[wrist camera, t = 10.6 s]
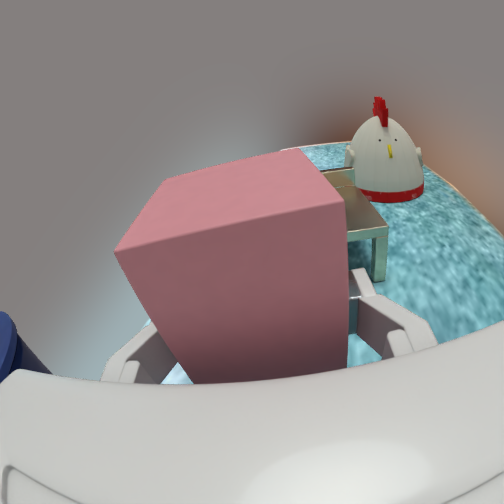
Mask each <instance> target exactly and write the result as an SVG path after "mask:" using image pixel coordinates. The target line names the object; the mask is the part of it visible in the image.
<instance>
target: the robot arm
mask: <svg viewBox="0 0 504 504" xmlns="http://www.w3.org/2000/svg"><path fill="white" fill-rule="evenodd" d="M348 272H349V328H348V335H349V334H355V333H357V335H358V336H359V337H360V338H361V339H363V340H364V341H365V342H366V343H367V344H368V345H369V346H370V347H371V348H373V349H374V350H375V351H376V352H377V353H378V354H379V355H380V356H382V360H381V361H377V362H373V363H368V364H363V365H359V366H354V367H349V368H344V369H339V370H333V371H327V372H321V373H315V374H309V375H302V376H295V377H287V378H279V379H270V380H260V381H248V382H235V383H217V384H161V382H162V381H163V380H164V379H165V377H166V376H167V375H168V374H169V372H170V371H171V370H172V368H173V367H174V366H175V365H176V363H177V362H178V361H177V359H176V358H175V356H174V355H173V353H172V352H171V350H170V349H169V347H168V346H167V344H166V343H165V341H164V340H163V338H162V337H161V335H160V333H159V332H158V330H157V329H156V327H155V325H154V324H153V322H152V321H151V322H150V325H149V326H145V327H144V328H143V329H142V330H141V331H140V332H138V333H137V334H136V335H135V336H134V337H133V338H132V339H131V340H129V341H128V342H127V343H126V344H125V345H124V346H123V347H122V348H120V349H119V350H118V351H117V352H116V353H115V354H113V355H112V356H111V357H110V358H109V359H108V361H107V363H106V366H105V368H104V371H103V373H102V376H101V378H100V381H96V380H87V379H78V378H70V377H63V376H57V375H51V374H45V373H39V372H34V371H29V370H24V369H17V370H15V371H14V372H12V373H11V374H10V375H9V376H8V377H7V378H5V379H4V380H3V381H2V382H1V383H0V504H504V320H503V321H500V322H498V323H495V324H493V325H491V326H488V327H486V328H483V329H481V330H478V331H476V332H473V333H470V334H468V335H465V336H462V337H459V338H456V339H454V340H451V341H448V342H445V343H442V344H438V342H437V340H436V338H435V336H434V334H433V332H432V330H431V328H430V326H429V324H428V322H427V321H426V320H424V319H423V318H421V317H419V316H418V315H416V314H414V313H412V312H411V311H409V310H407V309H406V308H404V307H402V306H401V305H399V304H397V303H395V302H394V301H392V300H390V299H389V298H387V297H385V296H383V295H382V294H378V295H377V293H376V291H375V289H374V287H373V285H372V283H371V280H370V278H369V276H368V274H367V272H366V270H365V268H358V269H353V270H351V271H348Z"/></svg>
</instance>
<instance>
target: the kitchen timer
mask: <svg viewBox="0 0 504 504" xmlns="http://www.w3.org/2000/svg"><path fill="white" fill-rule="evenodd" d="M374 99H375V103H373V104H374V108H373V114H374V117H373V118H371V119H369V120H367V121H366V122H365V123H364V124H363V125H362V126H361V127H360V128H359V129H358V131H357V132H356V134H355V135H354V137H353V139H352V142H351V144H350V145H347V146H346V151H345V162H344V167H351V166H352V167H353V168H354V169H355V183H356V184H355V185H356V186H357V187H358V189H359V190H360V191H361V192H362V193H363V194H364V196H365V197H366V198H367V199H368V200H369V201H373V202H384V203H393V202H403V201H409V200H412V199H415V198H417V197H419V196H420V195H421V194H422V193H423V189H424V175H423V169H422V166H423V162H422V156H421V150H420V147H418V148H416V147H415V145H414V144H413V141H412V140H411V138H410V137H409V135H408V134H407V133H406V131H405V130H404V129H403V128H402V127H401V126H400V125H399V124H398V123H397V122H395V121H394V120H392V119H390V118H388V109H386V106H385V100H382V98H380V97H374ZM350 186H354V185H350ZM345 187H347V186H345Z"/></svg>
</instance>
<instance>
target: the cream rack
mask: <svg viewBox="0 0 504 504" xmlns="http://www.w3.org/2000/svg"><path fill="white" fill-rule="evenodd" d="M320 172H321V173H322V174H323V175H324V177H325V178H326V179H327V180H328V181H329V182H330V184H331V185H332V186H333V187H334V188H335V189H336V191H337V192H338V193H339V194H340V195H341V197H342V198H343V199H344V201H345V212H346V226H347V242H352V241H358V240H364V239H370V238H372V257H371V277H372V279H373V281H374V282H378V281H383V280H385V275H386V263H387V249H388V230H389V226H388V224H387V223H386V222H385V220H384V219H383V218H382V217H381V215H380V214H379V213H378V212H377V210H376V209H375V208H374V207H373V205H372V204H371V203H370V202H369V201H368V199H367V198H366V197H365V196H364V194H363V193H362V192H361V191H360V190H359V189H358V187H357V186H356V185H355V184H356V183H355V169H354V168H353V167H352V166H351V167H343V168H335V169H328V170H321V171H320ZM350 185H354V186H350ZM343 186H347V187H343ZM336 187H340V188H336Z"/></svg>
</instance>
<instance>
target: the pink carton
mask: <svg viewBox="0 0 504 504" xmlns="http://www.w3.org/2000/svg"><path fill="white" fill-rule="evenodd" d="M114 254H115V256H116V258H117V260H118V262H119V264H120V265H121V268H122V270H123V271H124V273H125V275H126V277H127V279H128V281H129V283H130V284H131V286H132V288H133V290H134V291H135V293H136V295H137V297H138V299H139V300H140V302H141V304H142V305H143V307H144V309H145V310H146V312H147V314H148V315H149V317H150V319H151V321H152V322H153V324H154V325H155V327H156V329H157V330H158V332H159V333H160V335H161V337H162V338H163V340H164V341H165V343H166V344H167V346H168V347H169V349H170V350H171V352H172V353H173V355H174V356H175V358H176V359H177V361H178V362H179V364H180V365H181V367H182V368H183V369H184V371H185V372H186V374H187V375H188V376H189V378H190V379H191V381H192V382H193V383H194V384H217V383H235V382H248V381H260V380H270V379H279V378H287V377H295V376H302V375H309V374H315V373H321V372H327V371H333V370H339V369H344V368H347V356H348V328H349V272H348V244H347V226H346V212H345V201H344V199H343V198H342V197H341V195H340V194H339V193H338V192H337V191H336V189H335V188H334V187H333V186H332V185H331V184H330V182H329V181H328V180H327V179H326V178H325V177H324V175H323V174H322V173H321V172H320V171H319V170H318V169H317V167H316V166H315V165H314V164H313V163H312V162H311V161H310V160H309V159H308V157H307V156H306V155H305V154H304V153H303V152H302V151H301V150H300V149H299V148H294V149H288V150H283V151H278V152H273V153H268V154H264V155H258V156H254V157H249V158H245V159H241V160H236V161H232V162H228V163H224V164H219V165H216V166H212V167H208V168H204V169H200V170H196V171H193V172H189V173H185V174H182V175H178V176H175V177H171V178H168V179H165V180H164V181H163V183H162V184H161V185H160V186H159V188H158V189H157V190H156V191H155V193H154V194H153V195H152V197H151V198H150V200H149V201H148V202H147V204H146V205H145V207H144V208H143V209H142V211H141V212H140V213H139V215H138V216H137V217H136V219H135V220H134V222H133V223H132V225H131V226H130V227H129V229H128V230H127V232H126V233H125V235H124V236H123V238H122V239H121V241H120V242H119V244H118V245H117V247H116V248H115V250H114Z"/></svg>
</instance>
